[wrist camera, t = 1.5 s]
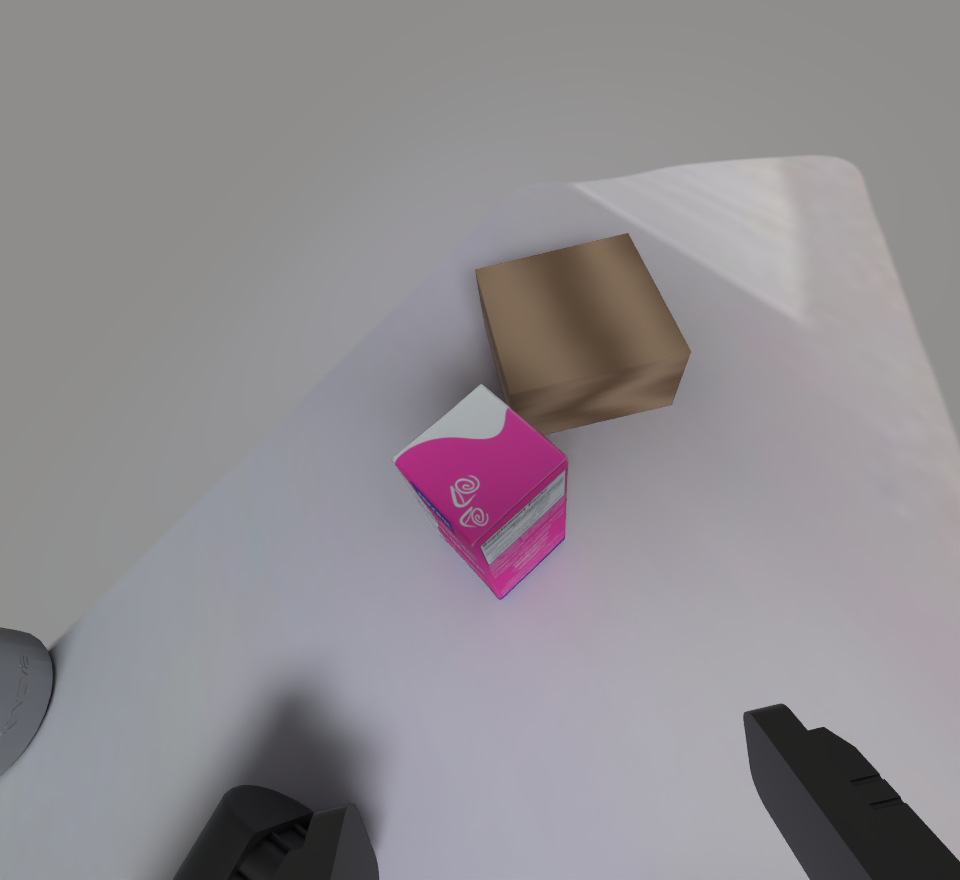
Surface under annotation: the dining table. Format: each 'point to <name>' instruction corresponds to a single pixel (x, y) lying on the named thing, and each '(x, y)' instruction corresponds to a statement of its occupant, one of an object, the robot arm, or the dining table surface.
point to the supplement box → (490, 487)
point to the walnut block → (581, 335)
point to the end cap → (247, 836)
